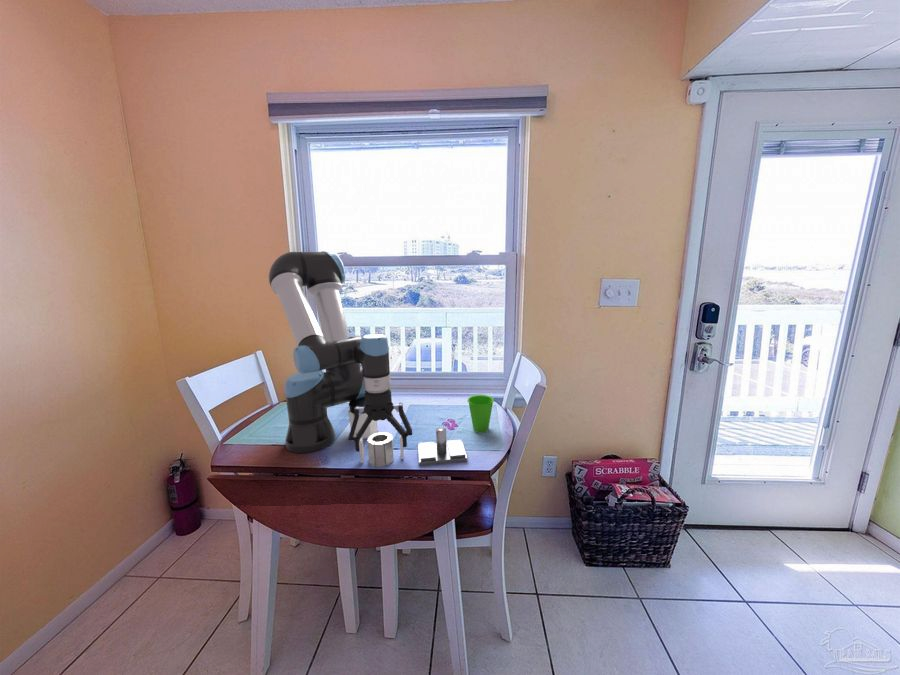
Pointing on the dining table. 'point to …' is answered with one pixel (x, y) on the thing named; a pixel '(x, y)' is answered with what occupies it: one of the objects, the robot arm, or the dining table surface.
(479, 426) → the cup
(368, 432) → the jar
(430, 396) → the dining table surface
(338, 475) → the dining table surface
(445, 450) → the shaft block
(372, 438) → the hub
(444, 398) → the dining table surface
